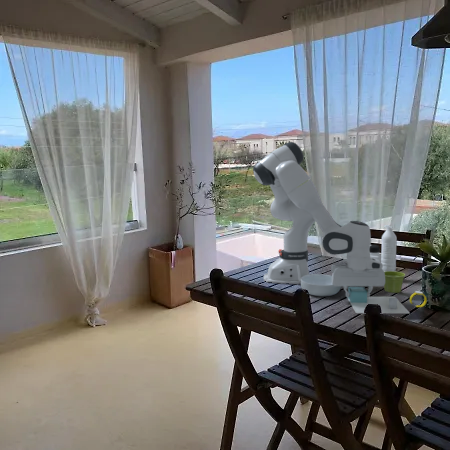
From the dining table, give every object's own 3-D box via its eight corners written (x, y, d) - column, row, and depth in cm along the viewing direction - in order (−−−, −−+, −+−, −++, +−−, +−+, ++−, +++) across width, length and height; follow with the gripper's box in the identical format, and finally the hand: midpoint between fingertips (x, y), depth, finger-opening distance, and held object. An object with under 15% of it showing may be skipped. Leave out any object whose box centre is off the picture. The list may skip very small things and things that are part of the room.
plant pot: (377, 290, 188) (378, 271, 187) (399, 290, 188) (400, 270, 187) (384, 297, 179) (385, 277, 178) (408, 297, 179) (408, 276, 177)
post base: (356, 316, 158) (356, 303, 158) (346, 300, 177) (346, 288, 176) (410, 317, 157) (410, 303, 156) (394, 300, 175) (395, 288, 174)
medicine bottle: (381, 267, 227) (382, 244, 225) (378, 270, 221) (378, 247, 219) (367, 265, 230) (368, 243, 229) (363, 268, 225) (364, 246, 223)
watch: (423, 306, 169) (425, 291, 168) (426, 308, 166) (428, 293, 165) (408, 305, 169) (409, 290, 168) (410, 307, 166) (412, 292, 165)
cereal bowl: (315, 304, 174) (315, 287, 172) (293, 292, 189) (293, 277, 188) (349, 297, 180) (350, 281, 179) (325, 287, 195) (325, 272, 194)
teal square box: (351, 302, 169) (351, 291, 169) (348, 297, 175) (348, 286, 175) (367, 302, 169) (367, 291, 168) (363, 297, 175) (363, 286, 174)
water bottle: (397, 281, 201) (398, 227, 197) (382, 281, 202) (384, 228, 198) (391, 276, 210) (393, 224, 206) (378, 276, 210) (379, 225, 207)
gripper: (332, 264, 168) (332, 299, 170) (387, 264, 166) (386, 299, 168) (330, 260, 174) (329, 294, 176) (382, 260, 172) (381, 294, 174)
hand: (357, 296), depth 172 cm, fingers closed on teal square box, 6 cm apart
